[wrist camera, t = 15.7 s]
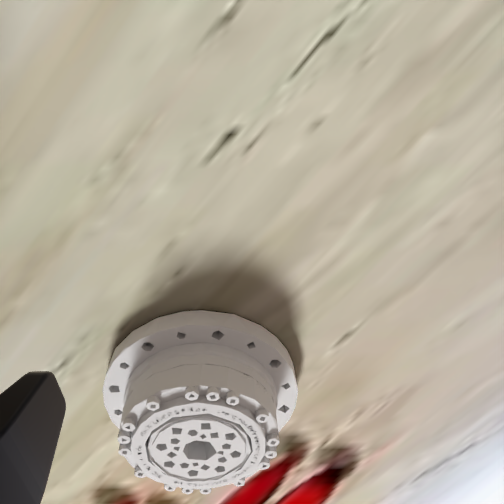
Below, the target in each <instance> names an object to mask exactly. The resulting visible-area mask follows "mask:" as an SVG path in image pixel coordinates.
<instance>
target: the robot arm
mask: <svg viewBox="0 0 504 504" xmlns="http://www.w3.org/2000/svg"><path fill="white" fill-rule="evenodd" d="M65 410H66V403H65V399H64V397H63V394H62V392H61V390H60V387H59V385H58V383H57V380H56V378H55V376H54V374H52V373H51V372H48V371H35V372H29V373H27V374H25V375H24V376H23V377H21V378H20V379H19V380H18V381H16V382H15V383H14V384H13V385H11V386H10V387H9V388H8V389H6V390H5V391H4V392H3V393H1V394H0V504H40V503H41V500H42V497H43V494H44V491H45V487H46V484H47V481H48V477H49V473H50V469H51V465H52V461H53V458H54V454H55V450H56V446H57V442H58V438H59V435H60V431H61V427H62V423H63V419H64V415H65Z"/></svg>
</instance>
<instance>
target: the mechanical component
mask: <svg viewBox="0 0 504 504" xmlns="http://www.w3.org/2000/svg"><path fill="white" fill-rule="evenodd" d="M297 394H298V387H297V382H296V376H295V371H294V366H293V362H292V360H291V357H290V355H289V353H288V351H287V349H286V348H285V347H284V346H283V344H282V343H281V342H280V341H279V339H278V338H277V337H276V336H274V335H273V334H272V333H270V332H269V331H268V330H266V329H265V328H264V327H262V326H261V325H258V324H256V323H254V322H251V321H249V320H247V319H244V318H242V317H240V316H237V315H235V314H229V313H220V312H212V311H204V310H198V311H183V312H178V313H174V314H170V315H166V316H162V317H158V318H156V319H154V320H152V321H150V322H148V323H147V324H145V325H143V326H141V327H139V328H138V329H136V330H134V331H132V332H131V333H130V334H129V335H128V336H127V337H126V338H125V339H124V340H123V341H122V342H121V343H120V344H119V345H118V346H117V347H116V348H115V351H114V353H113V356H112V359H111V361H110V364H109V367H108V370H107V373H106V377H105V381H104V386H103V398H104V405H105V408H106V410H107V412H108V414H109V416H110V418H111V420H112V422H113V423H114V424H115V425H116V426H117V427H118V429H119V434H118V442H119V443H120V447H119V452H118V453H119V454H120V455H122V456H124V457H125V458H126V459H127V461H128V462H129V463H130V465H131V466H132V467H133V468H135V473H134V474H135V476H136V477H139V478H143V477H145V476H146V477H148V478H150V479H153V480H155V481H157V482H161V483H164V489H165V490H166V491H174V490H175V489H176V487H180V488H182V493H186V494H190V493H193V489H200V492H201V493H202V494H208V493H211V488H216V487H220V486H225V485H229V484H233V483H234V485H235V486H237V487H238V486H243V485H244V483H245V478H247V477H250V476H252V475H253V474H255V473H256V472H257V471H259V470H260V469H262V470H263V469H268V468H269V467H270V461H269V460H270V459H272V458H274V457H276V455H277V452H276V448H277V445H278V444H279V436H278V432H279V431H280V430H281V429H282V428H283V426H284V425H285V424H286V423H287V422H288V421H289V419H290V417H291V415H292V413H293V411H294V409H295V406H296V400H297Z"/></svg>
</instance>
